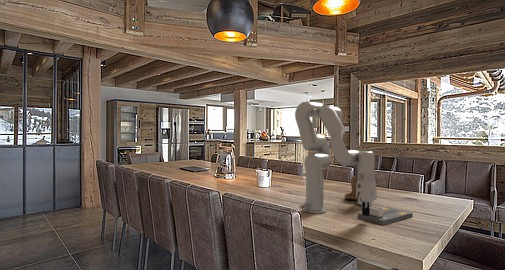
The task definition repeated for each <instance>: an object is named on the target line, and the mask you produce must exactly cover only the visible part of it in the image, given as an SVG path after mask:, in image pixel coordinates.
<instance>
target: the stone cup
mask: <svg viewBox="0 0 505 270" xmlns="http://www.w3.org/2000/svg"><path fill="white" fill-rule="evenodd" d="M356 176H357V175H353V176H351V179H350V185H351V187H350V188H351V192H349V193H345V194H344V199H345V200H351V201H352V200H353V201H356Z"/></svg>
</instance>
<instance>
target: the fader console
mask: <svg viewBox="0 0 505 270" xmlns="http://www.w3.org/2000/svg"><path fill="white" fill-rule="evenodd" d="M383 208H384V216H381V217H377V216H373V215H369V216H365V215H362V212H359V213H357V218H358V219H362V220H364V221H368V222H371V223H375V224H378V225H381V226H382V225H383V226H384V225H388V224H392V223H395V222H398V221H404V220H405V219H410V218H413V212H410V211H406V210H402V209H397V208H394V207H389V206H385V207H383Z"/></svg>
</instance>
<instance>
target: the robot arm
mask: <svg viewBox="0 0 505 270" xmlns="http://www.w3.org/2000/svg"><path fill="white" fill-rule="evenodd" d="M294 117H295V122H296V125H297V128H298V132H299V137H300V141H301V145H302V148H303V149H304V151H306V152H307V151H308V152H311V153H308V154H307V155H306V156H305V158H304V163H303V164H304V171H305V201H304V203H303V204H301V205H299V206H298V208H299V209H300V210H303V212H306V213H308V214H324V213H326V212H327V208H326V207H324V190H325V189H324V183H325V182H324V180H325V178H324V174H323V173H324V172H323V171H322V170H326V169H328V168H330V167H331V165H332V162H333V161H332V160H333V159H332V154H333V155H334V158H335V160H336V161H337V162H338V163H339V164H340V165H341V166H344V167H350V166H357V175H358V180H357V187H356V199H357V200H358V204H361V206H360V207H361V213H362V215H365V216H369V215H370V206H372V203H374V201H376V200H377V197H378V196H377V192H378V191H377V184H376V183H377V182H376V179H375V153H374V151H371V150H370V151H368V150H357V149H347V146H346V145H345V143H344V139H343V137H344V134H345V132H346V128H345V125H343V122H342V118H343V111H342V110H341V109H340V108H339V107H337V106H334V105H333V106H332V105H330V104H325V103H321V102H316V101H302V102H301V103H299V104H298V105H297V107H296V108H295V112H294ZM311 118H318V119H320V120H321V123H322V125H323V126H324V128H325V131H326V132H327V134H328V135H329V143H328V141H327V138H326V137H325V136H324V135H323V134H320V133H316V131H315V130H316V128H315V126H314V124H313V122H312V120H311ZM329 144H330V147H329ZM330 149H331V150H330ZM312 151H313V152H312ZM331 152H332V154H331Z"/></svg>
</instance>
